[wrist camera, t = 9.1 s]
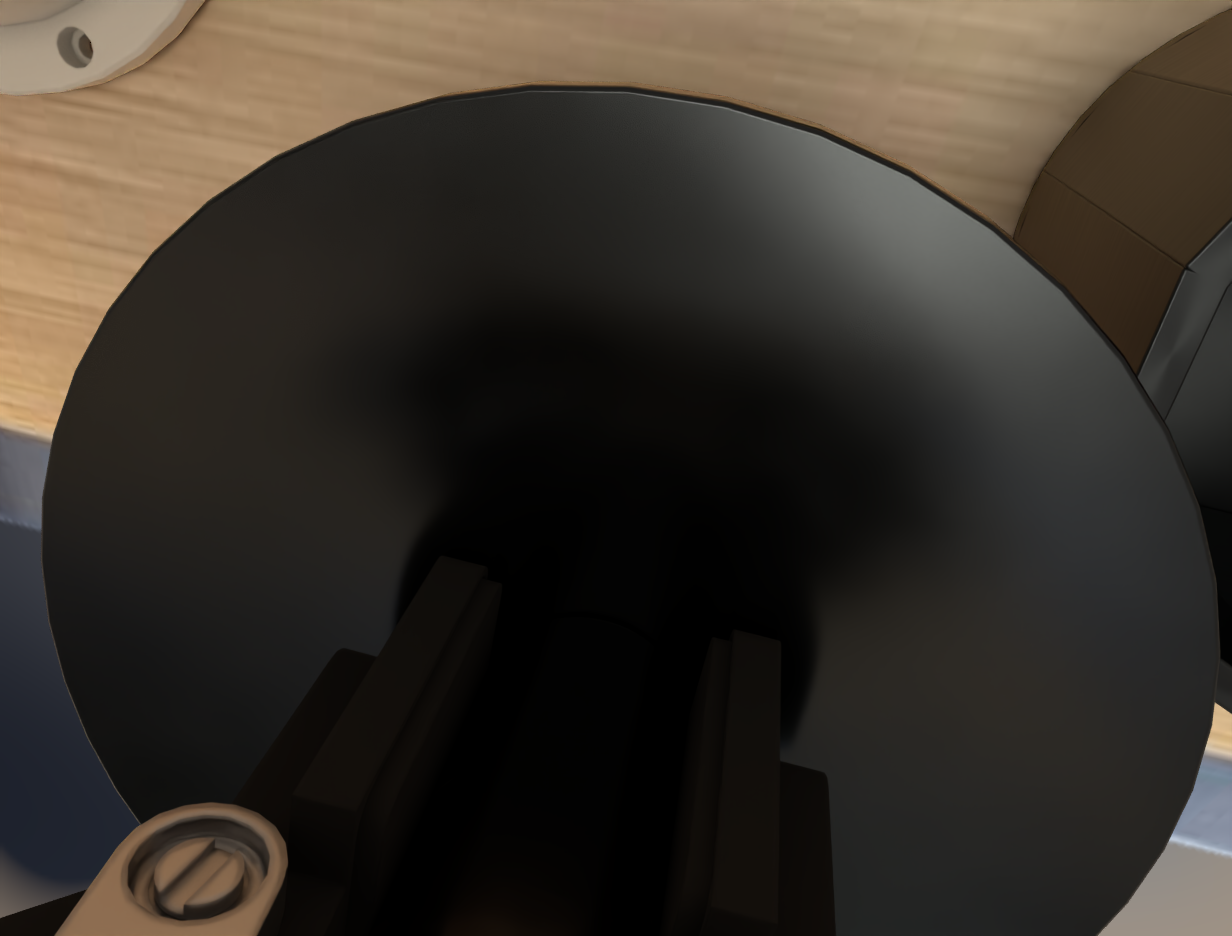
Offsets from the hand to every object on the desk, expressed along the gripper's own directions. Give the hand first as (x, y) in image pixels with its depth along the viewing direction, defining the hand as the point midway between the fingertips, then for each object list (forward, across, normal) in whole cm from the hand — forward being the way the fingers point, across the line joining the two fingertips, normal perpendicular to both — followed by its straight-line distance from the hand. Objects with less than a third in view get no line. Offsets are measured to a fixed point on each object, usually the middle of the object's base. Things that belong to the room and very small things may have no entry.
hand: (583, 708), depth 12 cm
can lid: (+1, 0, 0) cm, 1 cm away
